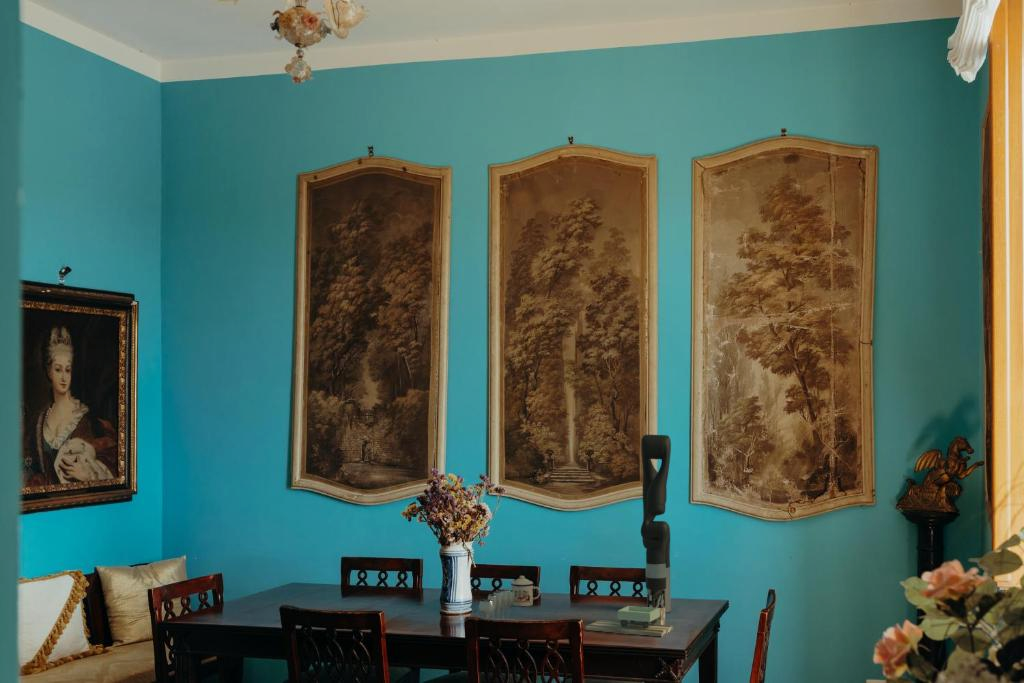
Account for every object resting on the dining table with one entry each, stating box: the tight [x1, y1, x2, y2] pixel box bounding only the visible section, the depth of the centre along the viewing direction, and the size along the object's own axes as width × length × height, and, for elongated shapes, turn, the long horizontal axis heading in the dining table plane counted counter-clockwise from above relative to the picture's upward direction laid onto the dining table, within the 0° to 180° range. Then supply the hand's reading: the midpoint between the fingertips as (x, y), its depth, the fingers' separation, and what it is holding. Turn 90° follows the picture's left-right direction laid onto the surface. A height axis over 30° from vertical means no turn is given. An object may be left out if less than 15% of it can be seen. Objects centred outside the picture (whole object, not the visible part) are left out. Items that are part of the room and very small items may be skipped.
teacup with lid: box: [510, 575, 541, 607], centre depth 435 cm, size 12×9×12 cm
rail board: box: [585, 619, 674, 637], centre depth 381 cm, size 14×28×2 cm, turn 64°
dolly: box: [617, 605, 660, 628], centre depth 380 cm, size 11×12×6 cm
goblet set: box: [478, 588, 515, 620], centre depth 385 cm, size 28×6×13 cm, turn 161°
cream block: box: [649, 607, 666, 625], centre depth 391 cm, size 5×5×6 cm
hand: (656, 621), depth 390 cm, fingers open, 7 cm apart
